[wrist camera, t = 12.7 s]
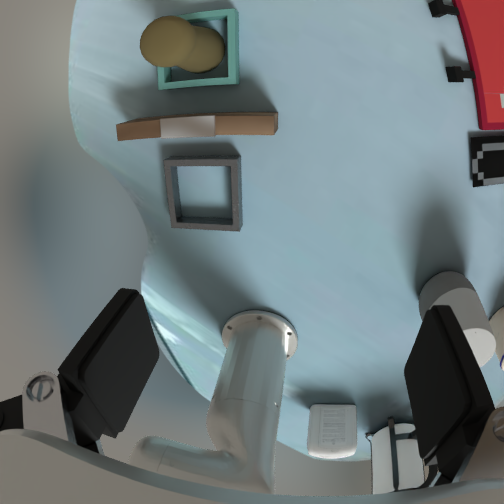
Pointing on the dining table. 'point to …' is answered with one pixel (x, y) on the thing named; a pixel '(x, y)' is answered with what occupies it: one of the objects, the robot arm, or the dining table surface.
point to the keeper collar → (204, 222)
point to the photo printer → (332, 431)
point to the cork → (181, 45)
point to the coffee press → (397, 460)
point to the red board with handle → (482, 78)
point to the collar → (233, 52)
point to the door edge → (199, 125)
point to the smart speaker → (461, 310)
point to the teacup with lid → (499, 334)
